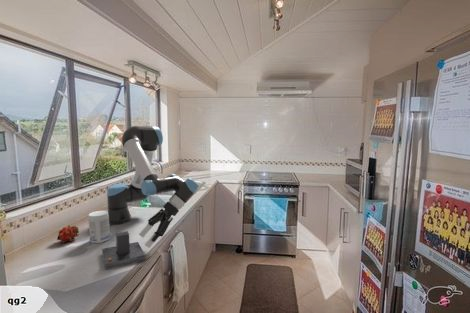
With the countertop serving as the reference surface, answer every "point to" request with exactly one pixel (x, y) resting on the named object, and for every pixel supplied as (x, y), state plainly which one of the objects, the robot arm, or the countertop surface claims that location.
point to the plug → (122, 243)
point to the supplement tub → (99, 226)
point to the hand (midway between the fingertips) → (143, 240)
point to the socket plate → (122, 256)
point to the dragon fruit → (68, 233)
